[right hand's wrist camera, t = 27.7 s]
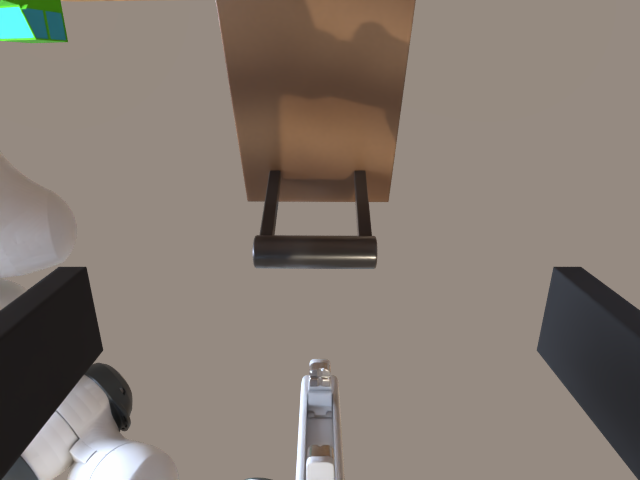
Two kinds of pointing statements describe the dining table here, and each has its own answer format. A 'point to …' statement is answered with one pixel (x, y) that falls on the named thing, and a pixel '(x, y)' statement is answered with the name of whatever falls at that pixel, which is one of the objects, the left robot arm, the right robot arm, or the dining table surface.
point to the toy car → (32, 21)
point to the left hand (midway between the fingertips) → (320, 402)
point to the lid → (316, 114)
